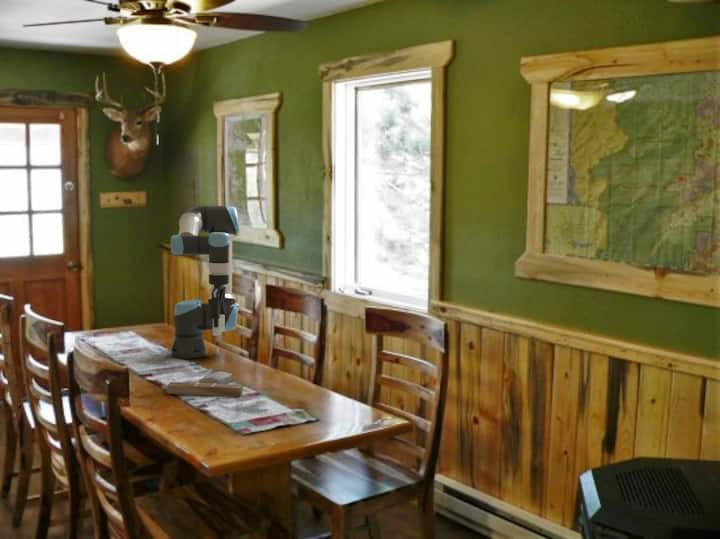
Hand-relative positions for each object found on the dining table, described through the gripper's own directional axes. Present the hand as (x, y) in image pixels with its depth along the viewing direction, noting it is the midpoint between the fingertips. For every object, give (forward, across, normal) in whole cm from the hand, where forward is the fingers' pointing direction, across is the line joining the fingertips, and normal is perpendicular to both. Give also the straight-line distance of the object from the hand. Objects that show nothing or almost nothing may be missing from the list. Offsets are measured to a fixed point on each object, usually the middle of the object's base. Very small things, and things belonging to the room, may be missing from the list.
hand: (218, 333), depth 298 cm
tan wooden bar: (+17, +22, 0) cm, 28 cm away
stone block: (+18, +9, +1) cm, 20 cm away
